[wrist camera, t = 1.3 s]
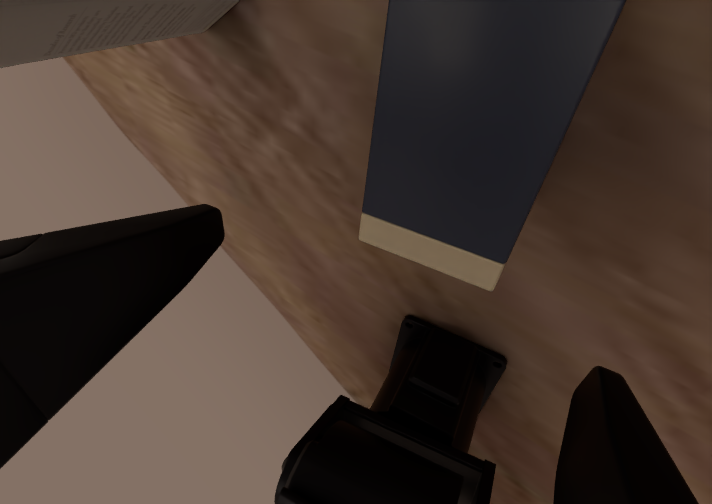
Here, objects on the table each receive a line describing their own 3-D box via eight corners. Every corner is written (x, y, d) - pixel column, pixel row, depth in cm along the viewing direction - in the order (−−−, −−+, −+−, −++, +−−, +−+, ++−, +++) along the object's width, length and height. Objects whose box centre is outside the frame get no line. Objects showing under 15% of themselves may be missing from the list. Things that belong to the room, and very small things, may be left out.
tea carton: (521, 206, 17) (492, 293, 13) (417, 173, 19) (357, 240, 14) (697, -198, 10) (790, -356, 5) (499, -199, 11) (427, -320, 6)
